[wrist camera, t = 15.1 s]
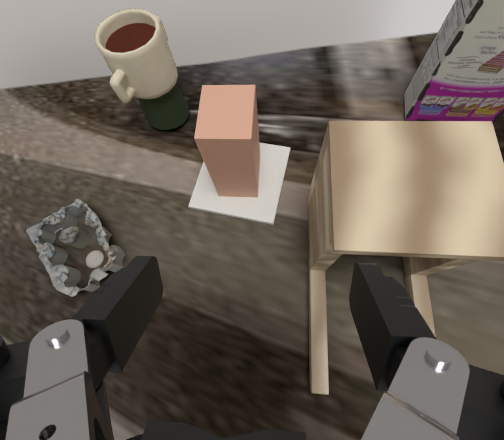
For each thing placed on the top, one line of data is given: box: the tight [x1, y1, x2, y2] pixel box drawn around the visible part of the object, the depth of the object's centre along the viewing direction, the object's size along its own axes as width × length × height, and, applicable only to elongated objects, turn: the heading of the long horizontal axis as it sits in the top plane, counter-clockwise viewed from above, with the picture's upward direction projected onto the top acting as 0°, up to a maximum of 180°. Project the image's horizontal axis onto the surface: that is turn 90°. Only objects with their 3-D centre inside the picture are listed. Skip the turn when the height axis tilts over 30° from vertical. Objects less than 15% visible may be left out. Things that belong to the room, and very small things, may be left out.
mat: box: [188, 143, 290, 225], centre depth 37 cm, size 11×11×1 cm
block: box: [194, 85, 260, 197], centre depth 31 cm, size 5×6×12 cm
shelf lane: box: [308, 121, 504, 395], centre depth 25 cm, size 12×22×14 cm, turn 177°
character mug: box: [94, 9, 189, 130], centre depth 35 cm, size 11×7×13 cm, turn 159°
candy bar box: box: [404, 0, 504, 123], centre depth 31 cm, size 11×5×16 cm, turn 83°
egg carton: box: [26, 199, 125, 297], centre depth 33 cm, size 11×8×4 cm
